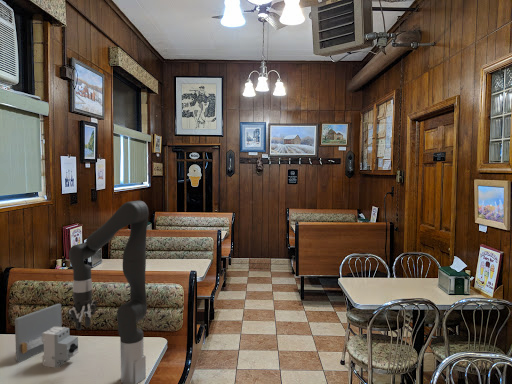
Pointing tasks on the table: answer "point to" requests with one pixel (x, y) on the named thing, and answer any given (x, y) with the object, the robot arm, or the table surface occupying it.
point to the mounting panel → (35, 329)
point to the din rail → (31, 344)
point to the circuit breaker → (58, 346)
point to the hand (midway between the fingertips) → (83, 327)
